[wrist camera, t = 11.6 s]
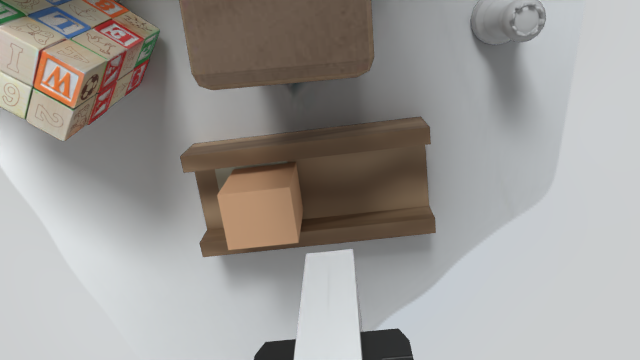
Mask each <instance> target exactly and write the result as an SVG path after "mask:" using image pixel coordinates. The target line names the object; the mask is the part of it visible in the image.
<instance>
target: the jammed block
mask: <svg viewBox="0 0 640 360" xmlns="http://www.w3.org/2000/svg"><path fill="white" fill-rule="evenodd" d="M217 197H218V202H219V207H220V212H221V217H222V221H223V226H224V231H225V236H226V241H227V245H228V250H235V249H244V248H254V247H263V246H273V245H282V244H292V243H299V236H300V230H301V223H302V216H303V205H302V199H301V192H300V185H299V179H298V172H297V165H296V162H292V163H284V164H275V165H267V166H258V167H249V168H241V169H233V171H232V173H231V174H230V176H229V177H228V179H227V180H226V182H225V184H224V185H223V187H222V188H221V190H220V191H219V193H218V195H217Z"/></svg>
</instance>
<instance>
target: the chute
mask: <svg viewBox="0 0 640 360" xmlns="http://www.w3.org/2000/svg"><path fill="white" fill-rule="evenodd" d="M427 144H431V142H430V127H429V126H428V125H427V123H426V122H425V121H424V120H423V119H422V117H414V118H406V119H397V120H389V121H381V122H372V123H364V124H355V125H347V126H339V127H330V128H322V129H314V130H305V131H297V132H289V133H280V134H272V135H264V136H255V137H247V138H238V139H230V140H222V141H213V142H205V143H197V144H193V145H192V146H191V147H190V148H189V149H188V150H187V151H186V152H185V153H183V154H182V155H181V156H180V159H181V163H182V168H183V172H184V173H186V172H194V171H195V176H196V180H197V185H198V189H199V194H200V198H201V203H202V208H203V212H204V217H205V221H206V226H207V231H206V233H205V235H204V236H203V238H202V240H201V241H200V247H201V251H202V256H203V257H209V256H219V255H228V254H238V253H247V252H257V251H267V250H276V249H286V248H295V247H305V246H315V245H324V244H334V243H344V242H353V241H363V240H372V239H382V238H392V237H401V236H411V235H420V234H430V233H436V228H435V217H434V215H433V213H432V211H431V209H430V207H429V198H428V182H427V166H426V150H425V145H427ZM292 162H296V165H297V172H298V179H299V185H300V192H301V199H302V205H303V216H302V223H301V230H300V236H299V243H292V244H282V245H273V246H263V247H254V248H244V249H235V250H228V245H227V241H226V236H225V231H224V226H223V221H222V217H221V212H220V207H219V202H218V197H217V195H218V193H219V191H220V190H221V188H222V187H223V185H224V184H225V182H226V180H227V179H228V177H229V176H230V174H231V173H232V171H233V169H241V168H249V167H258V166H267V165H275V164H284V163H292Z"/></svg>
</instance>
